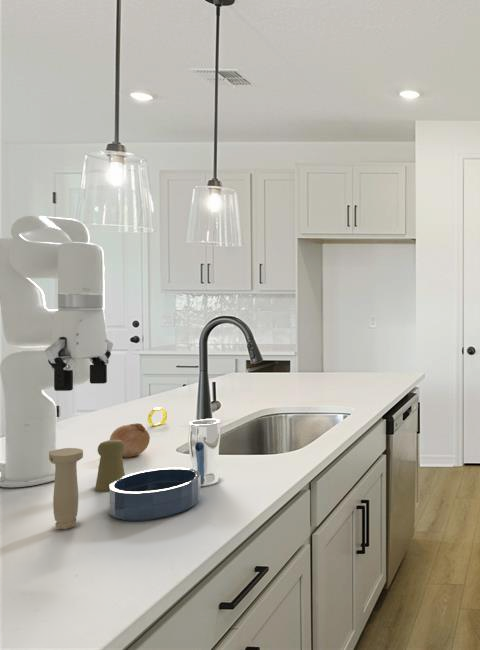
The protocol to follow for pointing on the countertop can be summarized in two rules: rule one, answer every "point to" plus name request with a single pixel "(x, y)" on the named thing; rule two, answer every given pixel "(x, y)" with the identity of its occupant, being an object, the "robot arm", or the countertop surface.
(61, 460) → the handle
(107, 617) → the countertop surface
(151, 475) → the bowl
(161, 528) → the countertop surface
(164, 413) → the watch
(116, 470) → the olive tapered shaker
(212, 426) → the beer glass
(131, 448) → the onion
